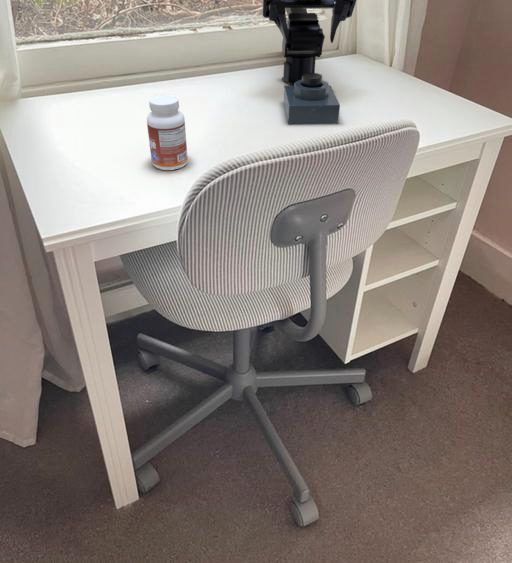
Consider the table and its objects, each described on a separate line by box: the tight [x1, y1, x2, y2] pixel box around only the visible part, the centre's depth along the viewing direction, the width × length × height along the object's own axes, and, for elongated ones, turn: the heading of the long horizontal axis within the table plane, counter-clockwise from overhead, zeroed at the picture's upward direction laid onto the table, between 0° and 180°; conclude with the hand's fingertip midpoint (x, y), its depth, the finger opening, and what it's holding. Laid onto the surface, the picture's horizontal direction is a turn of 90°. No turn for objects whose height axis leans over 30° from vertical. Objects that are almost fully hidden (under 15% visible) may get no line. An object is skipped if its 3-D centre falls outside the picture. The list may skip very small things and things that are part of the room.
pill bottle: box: [146, 94, 188, 171], centre depth 89 cm, size 6×6×11 cm
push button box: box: [283, 79, 341, 125], centre depth 110 cm, size 12×10×6 cm
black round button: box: [302, 72, 323, 88], centre depth 108 cm, size 4×4×2 cm
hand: (309, 41), depth 109 cm, fingers open, 9 cm apart
